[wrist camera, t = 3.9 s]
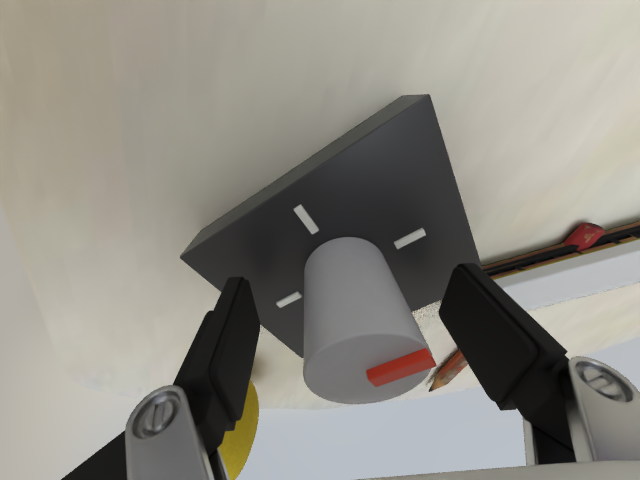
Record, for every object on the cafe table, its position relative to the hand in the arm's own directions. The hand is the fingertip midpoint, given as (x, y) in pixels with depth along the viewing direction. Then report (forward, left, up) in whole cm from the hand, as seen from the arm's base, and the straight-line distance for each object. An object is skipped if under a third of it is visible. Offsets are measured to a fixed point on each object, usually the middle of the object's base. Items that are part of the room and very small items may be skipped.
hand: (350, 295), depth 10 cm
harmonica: (+14, -2, -4) cm, 15 cm away
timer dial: (0, 0, -2) cm, 2 cm away
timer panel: (0, 0, -4) cm, 4 cm away
